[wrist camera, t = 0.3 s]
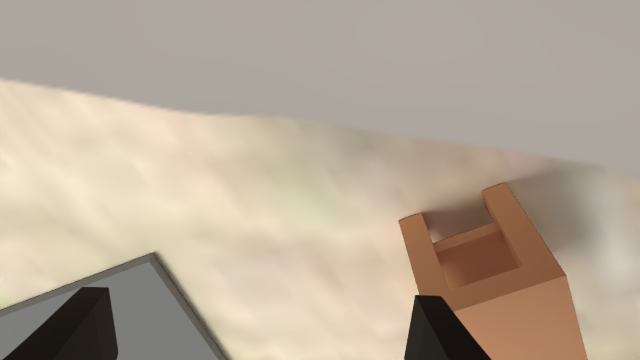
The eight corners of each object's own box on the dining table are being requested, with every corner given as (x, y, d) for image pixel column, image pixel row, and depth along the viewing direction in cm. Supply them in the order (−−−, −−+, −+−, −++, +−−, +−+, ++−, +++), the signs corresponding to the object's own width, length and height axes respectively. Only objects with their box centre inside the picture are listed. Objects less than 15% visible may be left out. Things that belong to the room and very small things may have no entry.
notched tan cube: (529, 265, 25) (590, 370, 20) (430, 298, 26) (464, 407, 21) (505, 182, 23) (566, 275, 18) (398, 220, 24) (426, 320, 19)
